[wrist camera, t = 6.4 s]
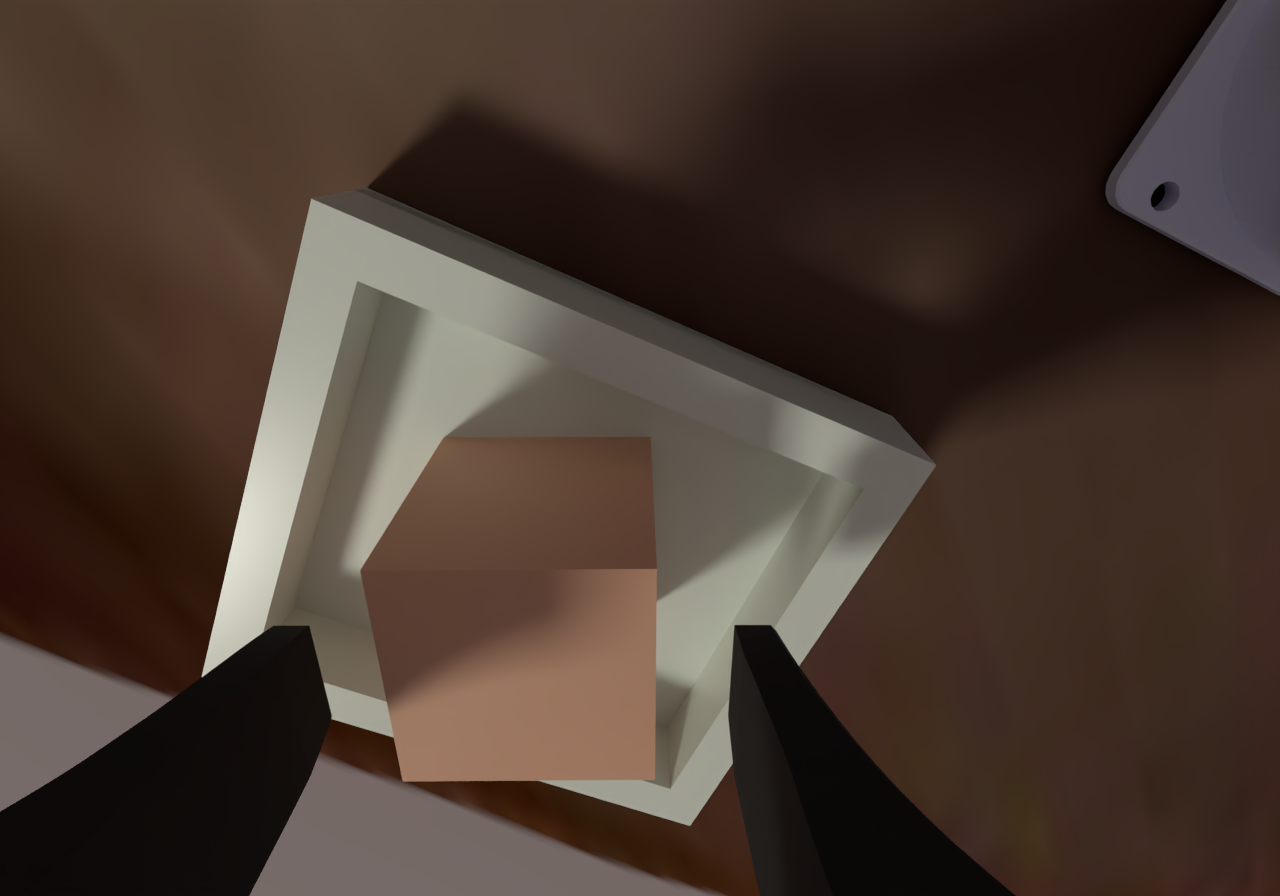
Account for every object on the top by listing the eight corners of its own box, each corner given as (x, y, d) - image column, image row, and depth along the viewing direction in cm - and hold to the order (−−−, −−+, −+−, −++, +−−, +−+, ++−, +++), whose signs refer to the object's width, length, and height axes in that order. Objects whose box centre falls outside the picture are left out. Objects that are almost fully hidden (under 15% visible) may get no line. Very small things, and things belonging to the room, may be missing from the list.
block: (650, 436, 15) (657, 568, 11) (649, 605, 17) (655, 779, 12) (443, 437, 15) (360, 570, 11) (465, 607, 17) (402, 782, 12)
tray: (892, 416, 16) (936, 465, 13) (683, 745, 20) (689, 826, 17) (366, 187, 14) (311, 199, 11) (257, 609, 18) (201, 679, 15)
